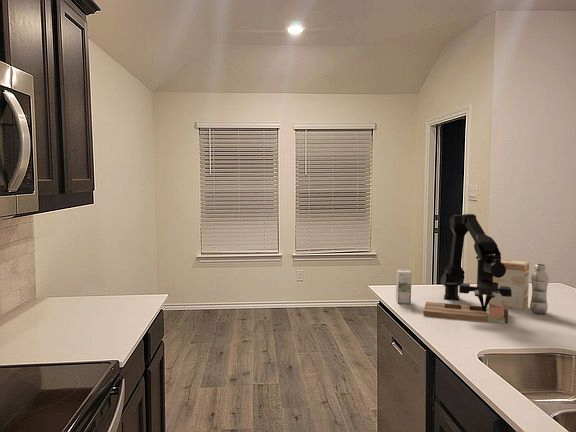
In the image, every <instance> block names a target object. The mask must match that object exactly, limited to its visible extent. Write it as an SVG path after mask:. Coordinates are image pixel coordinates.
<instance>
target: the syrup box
mask: <svg viewBox="0 0 576 432" xmlns="http://www.w3.org/2000/svg"><path fill="white" fill-rule="evenodd" d="M395 289H396V292H395V293H396V294H395V295H396V299H395V300H396V302H397V304H405V305H406V304H407V305H408V304H410V305H411V303H412V302H411V301H412V299H411V298H412V297H411V296H412V272H411V270H410V269H396V288H395Z"/></svg>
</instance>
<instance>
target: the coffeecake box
mask: <svg viewBox="0 0 576 432" xmlns="http://www.w3.org/2000/svg"><path fill="white" fill-rule="evenodd" d="M501 263H502V264H504V265H505V268H506V273H505V274H504V276H502V277H500V278H497V277H494V276H493V282H496V283H498V288H500V286H506V287H510V288H511V291H512V297H505V296H502V295H501V294H500V293H495V298H491V300H490V301H489V303H488V305H489V304H497V305H502V301H505V303H506V306H507V309H508V308H509V309H514V310H521V311H524V310H525V309H527V308H529V291H530V286H529V285H530V262H528V261H521V260H520V261H518V260H510V259H501Z"/></svg>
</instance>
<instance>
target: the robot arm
mask: <svg viewBox="0 0 576 432" xmlns="http://www.w3.org/2000/svg"><path fill="white" fill-rule="evenodd" d="M449 227H450V230H451V232H452V240H451V241H452V242H451V249H450V259H449V263H448V264H447V266H446V267H445V269H444V273H443V275H442V277H441V278H440V284H441V285H442V286H444V295H443V299H444V300H453V301H459V300H460V295H459V294H466V295H467V294H469V293H470V292H474V296H475V297H477V299H478V300H479V303H480V306H482V309H483V312H485V311H486V308H487V307H489V304H488V303H489V301H490V300H491V298H495V293H500V294H501V295H502V296H505V297H512V291H511V288H510V287H506V286H500V288H498V283H496V282H493V276H494V277H497V278H500V277H502V276H504V274H505V273H506V268H505V265H504V264H502V263H501V260H502V253H501V251H500V249H499V247H498V244H497V242H496V241H495V240H494V239H493V237H491V236H489V235H487V234H486V233H485V231H484V230H483V228H482V226H481V224H480V223H479V221H478V220H477V216H476V214H474V213H465V214H453V215H452V216H450V218H449ZM468 232H469V234H470V235H471V238H472V239H473V241H474V244H473V248H474V252H475V253H476V257H475V259H476V260H477V274H476V276H477V277H476V286H471V284H470V283H464V281H465V270H464V269H463V268H462V259H463V251H464V243H465V237H466V235H467V233H468ZM484 296H485V298H484ZM484 299H485V300H484Z"/></svg>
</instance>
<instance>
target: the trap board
mask: <svg viewBox="0 0 576 432" xmlns="http://www.w3.org/2000/svg"><path fill="white" fill-rule="evenodd" d="M502 305H503V307H504V314H503V319H501V318H491V317H489V306H487V308H486V311H485V312H483V309H482V306H481V305H470V304H469V305H468V304H460V303H457V304H455V303H447V302H446V303H445V302H432V301H426V302H425V304H424V306H423V307H424V308H423V312H422V314H423V317H432V318H433V317H434V318H445V319H456V320H467V321H477V322H487V323H488V322H489V323H497V324H498V323H499V324H508V320H509V310H508V307H507V306H506V303H505V301H502Z"/></svg>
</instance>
